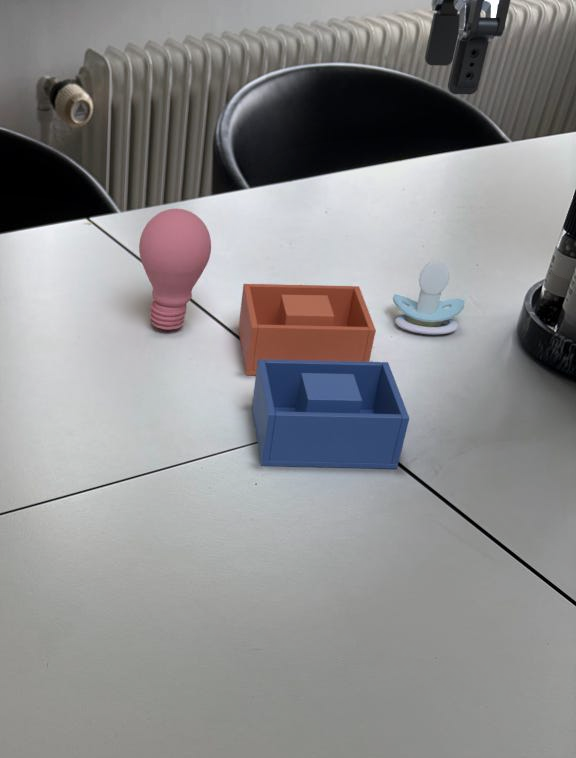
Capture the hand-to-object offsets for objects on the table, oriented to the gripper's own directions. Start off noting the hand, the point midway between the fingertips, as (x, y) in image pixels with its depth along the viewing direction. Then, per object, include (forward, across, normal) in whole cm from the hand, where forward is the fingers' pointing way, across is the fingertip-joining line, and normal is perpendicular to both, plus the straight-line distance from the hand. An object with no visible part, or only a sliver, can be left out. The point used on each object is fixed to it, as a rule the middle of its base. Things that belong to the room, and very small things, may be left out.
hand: (448, 78), depth 85 cm
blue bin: (+26, -13, +8) cm, 30 cm away
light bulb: (+26, +8, +21) cm, 35 cm away
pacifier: (+26, +10, -6) cm, 29 cm away
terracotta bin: (+26, +3, +8) cm, 27 cm away
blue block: (+26, -13, +8) cm, 30 cm away
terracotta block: (+26, +3, +8) cm, 27 cm away
